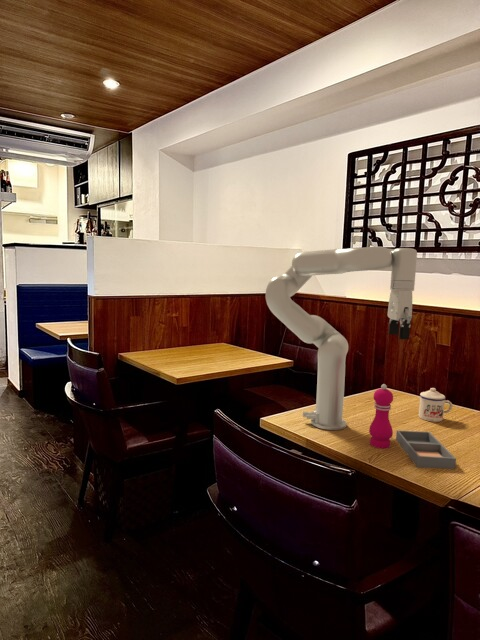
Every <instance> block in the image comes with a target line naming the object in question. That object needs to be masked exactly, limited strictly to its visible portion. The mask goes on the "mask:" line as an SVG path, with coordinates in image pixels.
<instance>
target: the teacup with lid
mask: <svg viewBox="0 0 480 640" xmlns="http://www.w3.org/2000/svg"><path fill="white" fill-rule="evenodd" d="M445 403H447V404H449V407H448V409H447V410H445ZM452 409H453V403H452V402H451V401H450V400H448V399H447V400H446V396H445V395H444V394H442V393H440V392H439V391H437V389H436V388H435V387H430V389H429V390H426V391H422V392H420V394H419V408H418V417H419V418H420V419H422V420H424V421H427V422H431V423H432V422H433V423H434V422H435V423H436V422H437V423H438V422H442V421H443V420H444V414H448V413H450V411H451V412H452Z"/></svg>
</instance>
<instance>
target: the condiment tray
mask: <svg viewBox="0 0 480 640" xmlns="http://www.w3.org/2000/svg"><path fill="white" fill-rule="evenodd" d="M395 434H396V435H395V440H396V441H397V443H398V444H399V445H400V447H401V448H402V449H403V451H404V452H405V453H406V454H407V456H408V457H409V459H411V460H410V461H412V462H413V464H414V465H415V466H416V467H417V468H425V469H426V468H428V469H430V468H431V469H450V470H453V469H454V470H455V469H456V463H457V458H456V457H455V456H454V455H453V454H452V453H451V452H450V451H449V450H448V449H447V448H446V447H445V446H444V445H443V443H441V442H440V441H439V440H438V439H437V438H436V437H435V436H434V435H433V434H432V432H431V431H420V430H419V431H418V430H416V431H415V430H414V431H413V430H399V429H398V430H396V433H395Z"/></svg>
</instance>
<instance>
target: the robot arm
mask: <svg viewBox="0 0 480 640" xmlns="http://www.w3.org/2000/svg"><path fill="white" fill-rule="evenodd" d="M417 259H418V252H417V250H416V249H414V248H410V247H405V248H404V247H399V248H387V247H385V246H369V247H368V246H367V247H355V248H335V249H323V250H321V249H320V250H311V251H301V252H298V253H296V254H295V255H294V256H293V257H292V259H291V260H292V261H291V266H290V267H289V268H288V269H287V270H286V271H284V273H283V274H282V275H277V276H274V277H273V278H271V279H270V280H269V281H268V283H267V285H266V289H265V301H266V305H267V307H268V309H269V310H270V312H271V313H272V314H273V315H274V316H275V317H276V318H277V319H278V320H279V321H280V322H281V323H282V324H284V325H285V327H287V329H288V330H290V331H291V332H292V333H293V334H294V335H295V336H297V337H298V339H300V340H301V341H302V342H304V343H306V344H313V345H315V346H316V347H317V348H318V349H317V377H316V378H317V381H316V382H317V384H316V400H315V401H316V402H315V408H314V409H313V410H312V411H302V417H303V418H306V419H308V420H309V419H310V424H311V425H312V426H314V427H315V428H318V429H321V430H327V431H338V430H343V429H346V428H347V423H348V422H347V421H346V420H345V419H343V413H344V399H345V398H344V397H345V379H346V378H345V377H346V359H347V358H346V357H347V354H348V352H349V343H348V340H347V339H346V338H345V336H344V335H342V334H341V332H339V331H337V330H336V329H335V328H334V327H333V326H332V325H331V324H330V323H328V321H326V320H325V319H324V318H322V317H321V316H319V315H315V314H310V313H308V312H307V311H305V310H304V309H303V308H302V307H301V306H300V305H299V304H297V303H296V302H295V301H294V300H292V298H291V297H293V296H294V295H295V294H297V293H298V292H299V290H301V289H302V287H303V286H304V285H306V283H307V282H308V281H309V280H310V279H311V278H312V277H313V276H322V275H341V274H345V273H350V272H351V273H352V272H362V271H363V272H365V271H380V270H381V271H382V270H390V269H391V274H390V287H389V290H390V293H389V300H388V308H387V317H388V318H389V320H388V322H389V323H388V324H389V325H388V335H392V336H393V335H398V339H399V340H406V341H407V340H410V329H411V323H412V318H413V292H414V291H415V285H416V272H417V271H416V270H417V261H418V260H417Z"/></svg>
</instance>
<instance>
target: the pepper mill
mask: <svg viewBox="0 0 480 640" xmlns="http://www.w3.org/2000/svg"><path fill="white" fill-rule="evenodd" d="M380 387H381V388H378V389H376V390H375V391H374V393H373V400H374V408H375V415H374V419H373V420H372V422H371V423H370V426H369V430H368V433H369V435H370V436H371V437H370V438H369V444H370V446H372V447H374V448H377V449H383V450H384V449H389V448H390V447H391V440H390V439H391V438H392V436H393V427H392V424H391V421H390V419H389V417H390V416H389V415H390V414H389V413H390V410H391V409H392V408H391V407H392V402H393V401H394V395H393V392H392V391H391V390H389V389H388V386H387V385H386V384H385V383H383V384H381V386H380Z"/></svg>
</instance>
